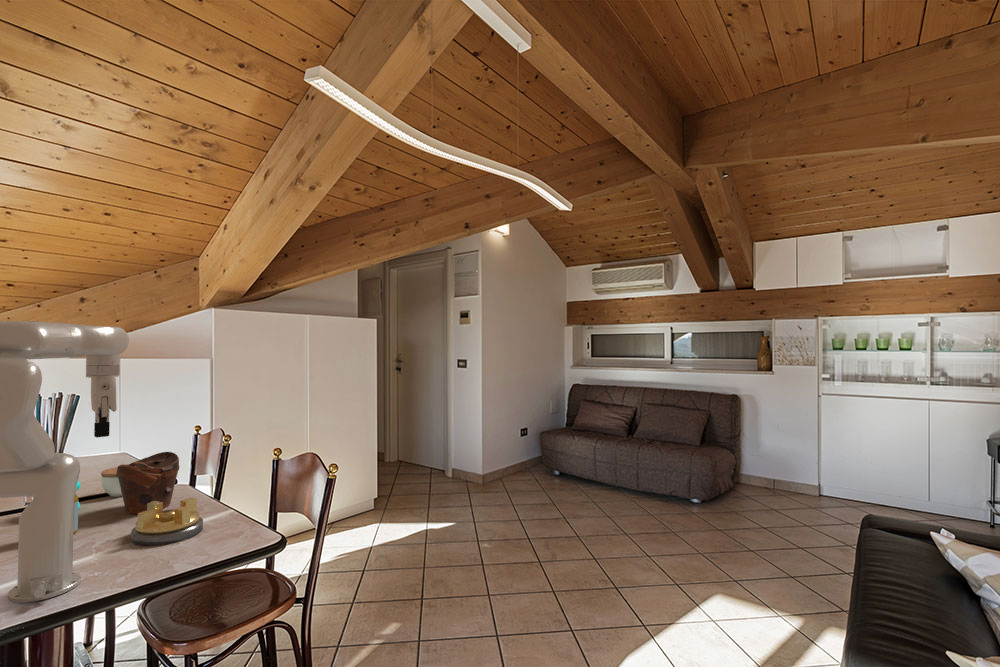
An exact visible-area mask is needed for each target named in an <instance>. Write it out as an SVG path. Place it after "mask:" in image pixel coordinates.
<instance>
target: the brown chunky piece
mask: <svg viewBox="0 0 1000 667" xmlns="http://www.w3.org/2000/svg"><path fill="white" fill-rule="evenodd" d="M117 467H118V468H117V473H116V477H118V480H119V484H120V488H121V492H122V496H121V497H122V502H123V504H124V509H125V512H126V513H127V514H130V515H131V514H133V515H134V514H137V515H138V513H141V512H144V511H147V503H150V502H152V501H159V502H163V509H165V508H167V507H169V506H170V505H171V503H172V497H173V494H174V491H175V490H174V489H175V485H176V482H177V480H176V479H177V477H178V474H179V470H180V458H179V456H178V454H176V452H172V451H163V452H157V453H155V454H152V455H149V456H148V457H143V458H141V459H138V460H137V461H134V462H131V463H127V464H124V465H122V464H120V465H118V466H117Z"/></svg>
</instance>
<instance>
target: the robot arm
mask: <svg viewBox="0 0 1000 667" xmlns="http://www.w3.org/2000/svg"><path fill="white" fill-rule="evenodd" d="M129 342H130V339H129V335H128V333H127V331H126V330H125V329H124V328H122V327H120V326H103V325H102V326H100V325H87V324H78V323H77V324H76V323H67V322H66V323H65V322H64V323H63V322H47V321H30V320H0V499H4V498H5V499H7V498H18V497H19V498H23V497H24V498H25V497H26V498H27V497H30V498H31V497H32V500H31V501H30V503H29V504H27V505H26V507H25V508H24V510H23V511H22V512H21V513H20V516H19V520H18V540H17V541H18V545H17V548H18V549H17V550H18V551H17V585H16V586H14V587H12V588H11V589H10V590H9V591H8V593H7V600H8V601H9V602H12V603H17V604H18V603H19V604H20V603H21V604H22V603H23V604H24V603H25V604H26V603H33V602H38V601H42V600H47V599H51V598H54V597H57V596H59V595H62V594H64V593H67V592H69V591H71V590H73V589H75V587H77V586H78V585H79V584H80V583H81V580H82V578H81V577H82V576H81V575H80V574H79V573H77V572H73V569H74V568H73V566H74V562H73V560H74V535H73V524H74V499H75V491H76V486H77V482H78V481H79V477H80V472H81V464H80V461H79V459H78V458H77V457H76V456H74V455H72V454H69V453H65V452H64V453H63V452H56V451H55V450H56V449H55V447H56V446H55V444H54V441H53V440H52V438H51V436H50V435H49V434H48V433H47V431H46V430H45V428H43V426H42V424H41V422H39V421H38V419H37V416H35V410H36V406H37V402H38V399H39V395H40V391H41V387H42V382H43V375H42V370H41V368H40V367H39V366H38V365H37V364H36V363H35V362H33V361H31V360H44V359H45V360H46V359H47V360H48V359H68V358H69V359H70V358H71V359H72V358H83V357H84V358H86V360H85V378H87V379H88V378H90V380H91V381H90V402H91V403H90V404H91V410H92V411H93V412H95V413H94V414H95V417H94V418H95V420H94V432H93V437H94V438H104V437H105V438H106V437H109V436H110V410H111V411H112V412H116V411H117V408H118V406H117V405H118V404H117V381H116V380H117V379H116V378H117V377H120V376H121V372H120V371H121V368H120V366H121V354H123V353H124V352H126V351H127V349H128V347H129ZM76 492H77V491H76Z"/></svg>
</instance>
